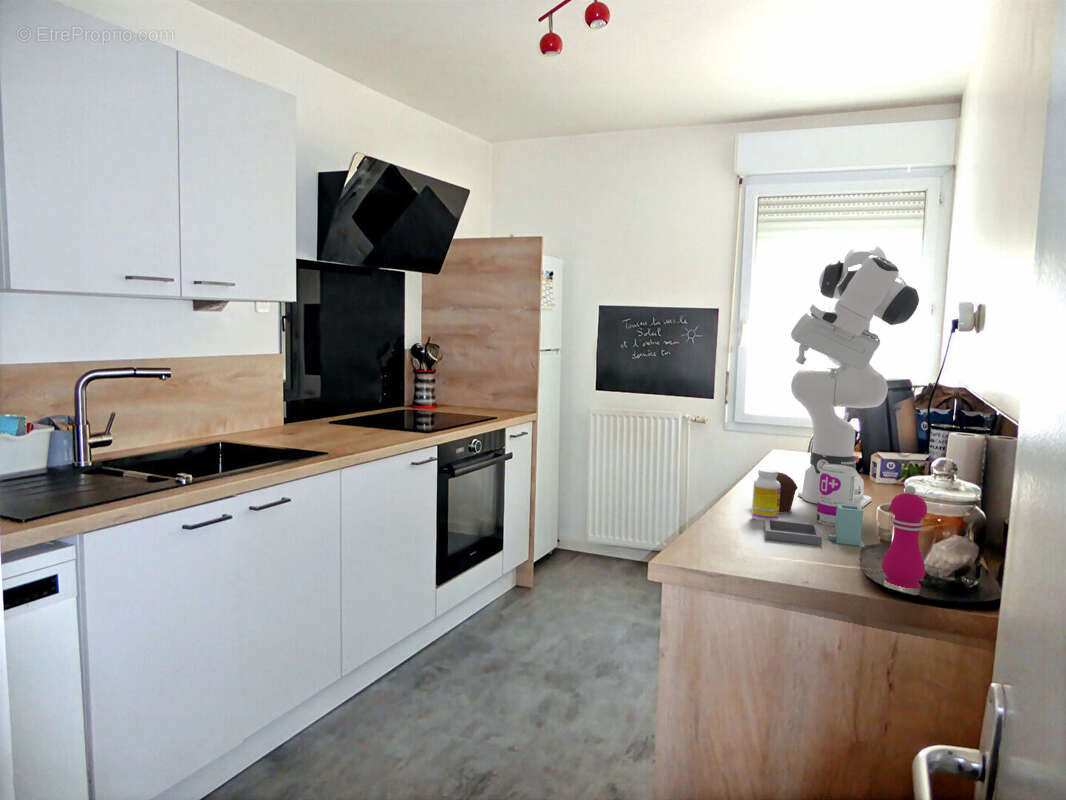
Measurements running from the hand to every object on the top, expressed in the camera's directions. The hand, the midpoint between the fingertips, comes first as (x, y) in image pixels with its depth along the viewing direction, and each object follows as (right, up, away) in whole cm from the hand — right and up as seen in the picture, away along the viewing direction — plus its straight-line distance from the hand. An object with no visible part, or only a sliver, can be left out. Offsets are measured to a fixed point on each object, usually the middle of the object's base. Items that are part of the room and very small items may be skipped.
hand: (815, 370), depth 181 cm
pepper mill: (-1, -43, -45) cm, 62 cm away
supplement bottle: (-10, -38, +7) cm, 40 cm away
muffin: (-4, -38, +20) cm, 43 cm away
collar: (+2, -40, -13) cm, 42 cm away
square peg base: (+2, -40, -12) cm, 42 cm away
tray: (-10, -40, -10) cm, 42 cm away
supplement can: (+6, -39, +5) cm, 40 cm away
